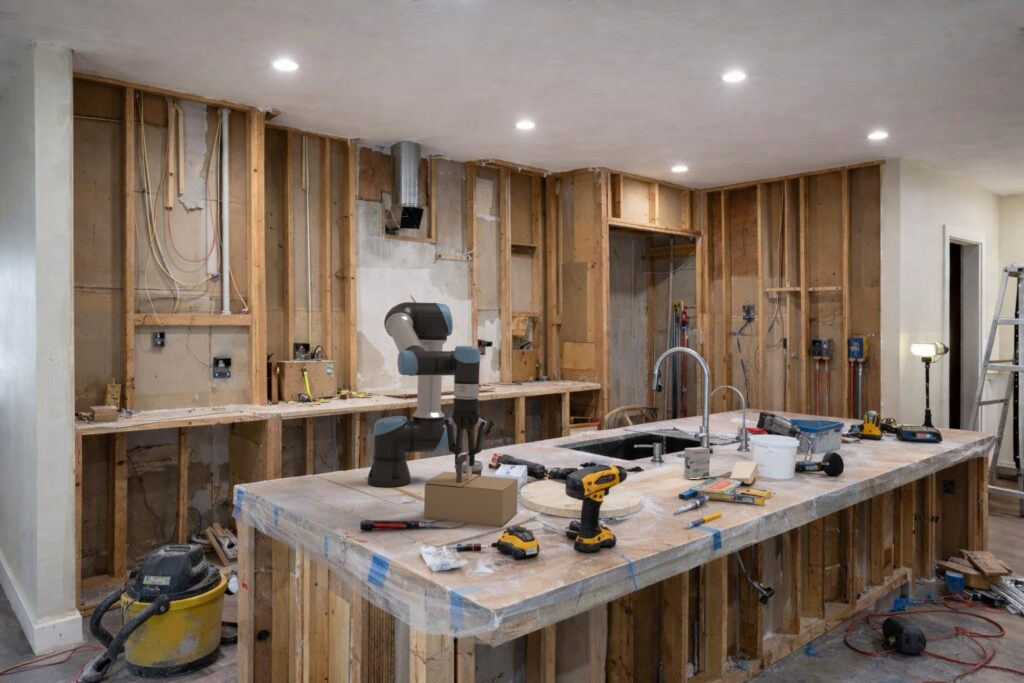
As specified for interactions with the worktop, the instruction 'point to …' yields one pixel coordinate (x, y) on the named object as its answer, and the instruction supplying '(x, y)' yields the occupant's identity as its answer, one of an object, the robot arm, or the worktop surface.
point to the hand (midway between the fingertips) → (464, 476)
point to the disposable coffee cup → (473, 468)
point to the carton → (473, 501)
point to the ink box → (696, 462)
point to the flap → (453, 476)
